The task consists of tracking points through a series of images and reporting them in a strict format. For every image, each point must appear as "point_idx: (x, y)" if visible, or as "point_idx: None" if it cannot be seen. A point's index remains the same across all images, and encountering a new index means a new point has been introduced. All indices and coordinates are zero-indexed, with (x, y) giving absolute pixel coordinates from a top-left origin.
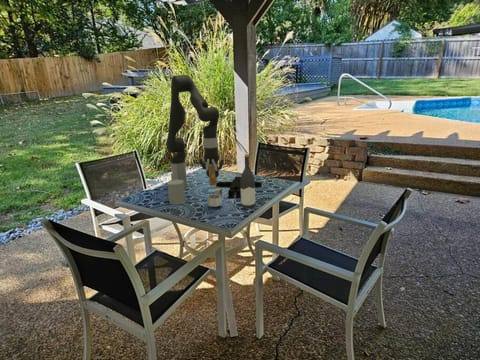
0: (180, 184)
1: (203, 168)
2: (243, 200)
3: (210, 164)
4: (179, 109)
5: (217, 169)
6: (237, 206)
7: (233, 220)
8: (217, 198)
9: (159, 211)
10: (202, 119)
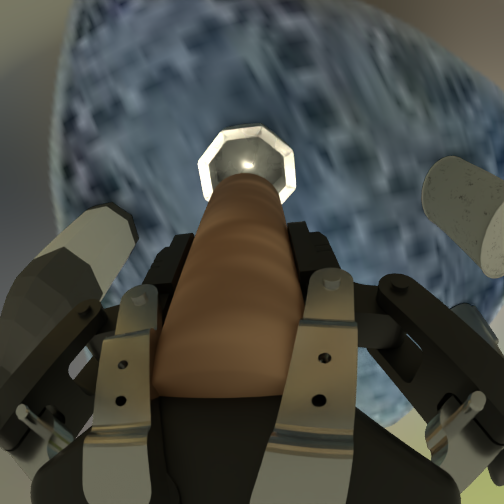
0: (490, 214)
1: (400, 278)
2: (99, 217)
3: (221, 364)
4: None
5: (121, 301)
6: (144, 202)
7: (97, 60)
8: (209, 148)
9: (474, 79)
10: None
